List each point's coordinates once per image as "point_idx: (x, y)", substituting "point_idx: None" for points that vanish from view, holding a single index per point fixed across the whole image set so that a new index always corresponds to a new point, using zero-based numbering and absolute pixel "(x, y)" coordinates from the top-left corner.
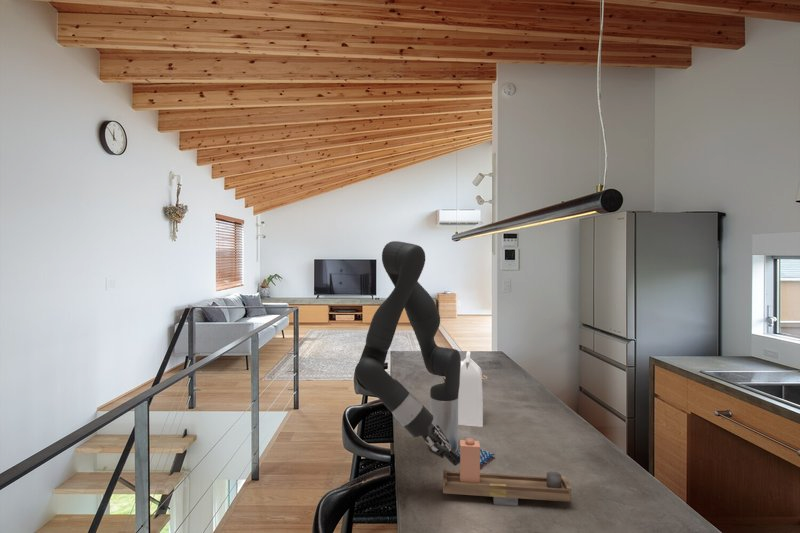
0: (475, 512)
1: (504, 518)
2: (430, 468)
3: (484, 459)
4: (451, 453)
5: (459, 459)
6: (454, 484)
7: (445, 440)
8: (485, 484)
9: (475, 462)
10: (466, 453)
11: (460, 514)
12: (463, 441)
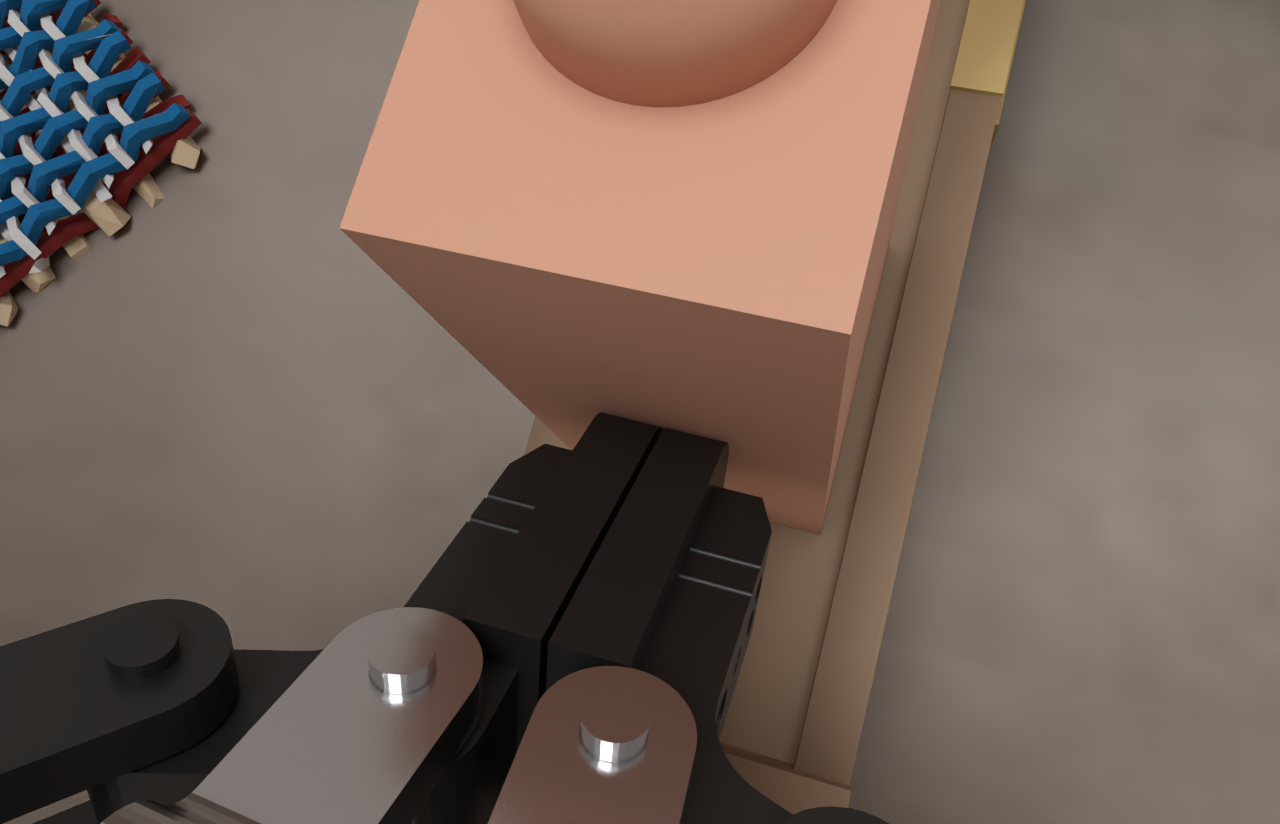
0: (1126, 444)
1: (1266, 141)
2: None
3: (61, 19)
4: (663, 658)
5: (717, 453)
6: (875, 648)
7: (205, 805)
8: (965, 155)
9: (912, 121)
10: (881, 231)
11: (1164, 654)
12: (482, 136)
